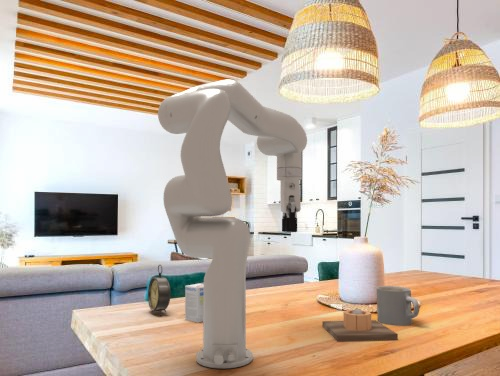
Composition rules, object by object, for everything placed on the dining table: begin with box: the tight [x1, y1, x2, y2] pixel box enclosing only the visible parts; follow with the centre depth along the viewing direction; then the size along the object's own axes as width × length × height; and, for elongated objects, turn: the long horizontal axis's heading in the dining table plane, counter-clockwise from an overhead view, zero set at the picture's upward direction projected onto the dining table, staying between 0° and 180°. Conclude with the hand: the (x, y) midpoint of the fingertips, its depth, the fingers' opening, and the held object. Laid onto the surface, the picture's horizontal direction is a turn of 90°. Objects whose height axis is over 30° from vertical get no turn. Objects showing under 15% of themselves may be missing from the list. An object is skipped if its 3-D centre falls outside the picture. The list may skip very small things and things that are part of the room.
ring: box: [342, 309, 372, 331], centre depth 114 cm, size 7×7×4 cm
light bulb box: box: [184, 282, 204, 324], centre depth 131 cm, size 11×7×11 cm, turn 141°
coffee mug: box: [376, 285, 420, 327], centre depth 125 cm, size 13×10×10 cm
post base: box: [321, 308, 399, 342], centre depth 114 cm, size 15×16×6 cm
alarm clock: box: [147, 264, 172, 317], centre depth 138 cm, size 11×5×16 cm, turn 31°
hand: (289, 231), depth 123 cm, fingers open, 9 cm apart
